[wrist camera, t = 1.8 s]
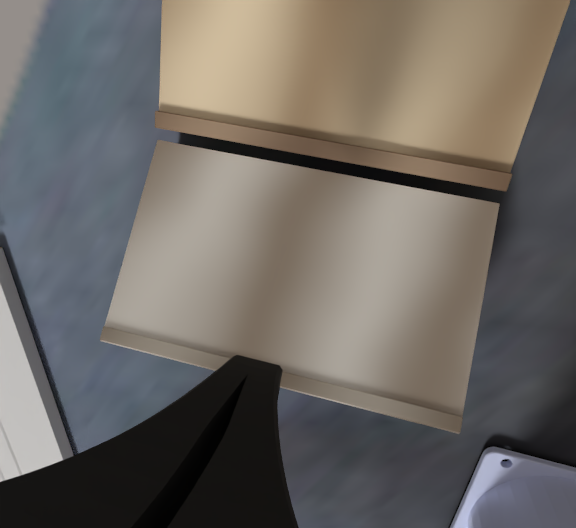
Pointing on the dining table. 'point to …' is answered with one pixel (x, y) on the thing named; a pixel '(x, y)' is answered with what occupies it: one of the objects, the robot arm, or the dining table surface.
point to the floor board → (362, 79)
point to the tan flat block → (308, 280)
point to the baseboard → (24, 393)
